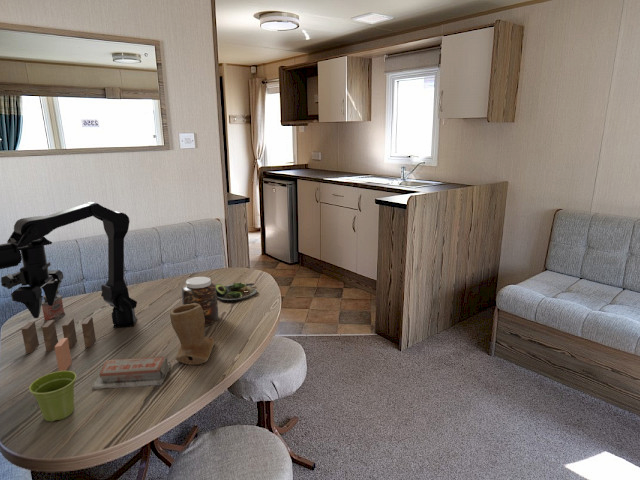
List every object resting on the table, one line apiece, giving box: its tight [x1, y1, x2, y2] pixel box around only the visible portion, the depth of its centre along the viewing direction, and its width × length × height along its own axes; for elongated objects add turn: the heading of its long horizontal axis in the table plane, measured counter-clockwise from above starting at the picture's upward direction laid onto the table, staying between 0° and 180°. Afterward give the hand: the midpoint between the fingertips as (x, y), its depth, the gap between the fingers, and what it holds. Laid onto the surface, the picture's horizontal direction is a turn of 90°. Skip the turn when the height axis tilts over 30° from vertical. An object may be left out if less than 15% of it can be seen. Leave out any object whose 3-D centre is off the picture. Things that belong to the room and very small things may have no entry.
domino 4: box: [54, 337, 73, 371], centre depth 118 cm, size 2×5×8 cm, turn 12°
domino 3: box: [61, 317, 78, 350], centre depth 131 cm, size 2×5×8 cm, turn 12°
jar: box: [181, 276, 219, 327], centre depth 147 cm, size 12×12×15 cm
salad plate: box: [215, 282, 258, 303], centre depth 174 cm, size 19×18×5 cm
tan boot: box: [169, 303, 215, 366], centre depth 124 cm, size 15×12×15 cm
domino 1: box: [21, 321, 40, 354], centre depth 129 cm, size 2×5×8 cm, turn 12°
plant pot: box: [28, 370, 77, 422], centre depth 98 cm, size 9×9×9 cm
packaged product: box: [91, 356, 172, 390], centre depth 114 cm, size 18×5×10 cm
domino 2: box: [41, 320, 59, 352], centre depth 130 cm, size 2×5×8 cm, turn 12°
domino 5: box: [81, 316, 97, 348], centre depth 132 cm, size 2×5×8 cm, turn 12°
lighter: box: [41, 289, 66, 324], centre depth 150 cm, size 8×3×10 cm, turn 168°
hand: (43, 311), depth 125 cm, fingers open, 9 cm apart
